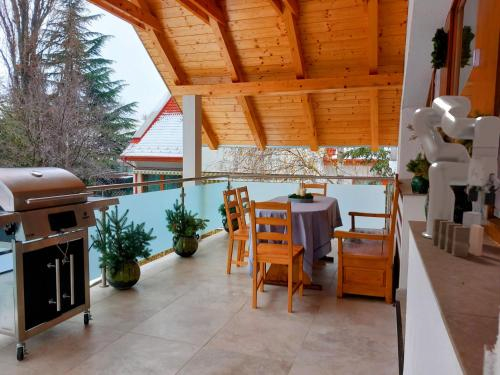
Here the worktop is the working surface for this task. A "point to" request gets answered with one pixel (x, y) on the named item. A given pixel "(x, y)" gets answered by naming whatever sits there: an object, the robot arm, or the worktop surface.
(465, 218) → the skincare box
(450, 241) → the domino
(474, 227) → the end tile
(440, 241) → the domino
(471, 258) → the worktop surface
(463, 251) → the domino
